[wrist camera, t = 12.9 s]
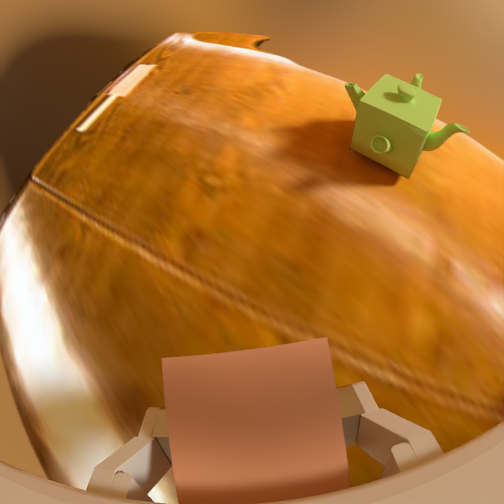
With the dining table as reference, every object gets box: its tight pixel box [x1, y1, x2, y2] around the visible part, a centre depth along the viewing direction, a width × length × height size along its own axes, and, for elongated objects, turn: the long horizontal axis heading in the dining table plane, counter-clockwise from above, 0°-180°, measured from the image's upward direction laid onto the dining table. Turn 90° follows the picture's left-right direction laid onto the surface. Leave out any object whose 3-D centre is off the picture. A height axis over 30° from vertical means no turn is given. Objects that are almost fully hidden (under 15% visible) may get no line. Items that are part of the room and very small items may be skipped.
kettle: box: [345, 74, 470, 179], centre depth 34 cm, size 15×14×11 cm
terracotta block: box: [162, 337, 351, 504], centre depth 11 cm, size 5×5×9 cm
